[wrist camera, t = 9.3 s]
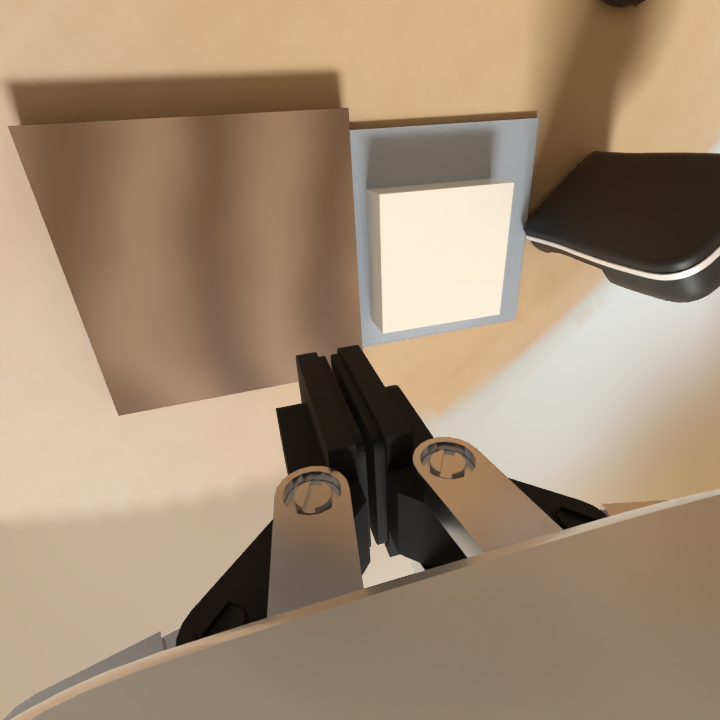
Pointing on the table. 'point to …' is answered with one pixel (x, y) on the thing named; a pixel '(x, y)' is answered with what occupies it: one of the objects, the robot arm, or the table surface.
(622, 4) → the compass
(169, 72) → the table surface
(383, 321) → the coaster
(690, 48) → the table surface
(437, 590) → the robot arm
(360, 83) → the table surface
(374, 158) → the mat
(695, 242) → the battery charger
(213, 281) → the board
